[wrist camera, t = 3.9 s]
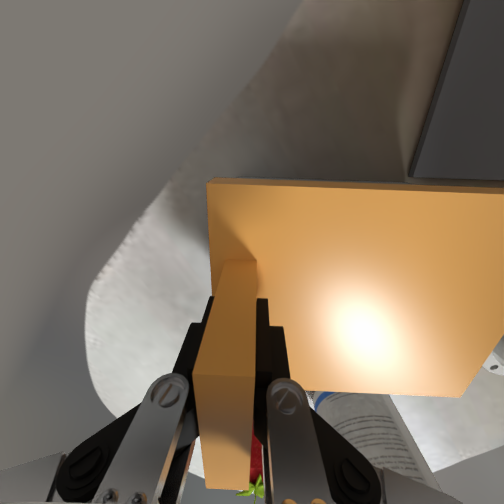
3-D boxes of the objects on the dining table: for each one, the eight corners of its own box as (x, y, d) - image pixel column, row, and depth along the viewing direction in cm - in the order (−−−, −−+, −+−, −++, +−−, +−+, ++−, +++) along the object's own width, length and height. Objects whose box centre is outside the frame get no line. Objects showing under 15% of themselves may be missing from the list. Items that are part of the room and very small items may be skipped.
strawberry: (260, 433, 35) (262, 532, 26) (225, 412, 33) (213, 513, 24) (289, 418, 33) (302, 519, 24) (254, 394, 31) (253, 497, 22)
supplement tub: (297, 397, 31) (329, 585, 18) (344, 357, 28) (427, 554, 14) (349, 420, 33) (412, 602, 20) (399, 385, 30) (516, 579, 16)
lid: (541, 189, 11) (1098, 273, 4) (438, 370, 16) (579, 545, 9) (214, 177, 11) (131, 235, 4) (221, 360, 17) (192, 525, 9)
